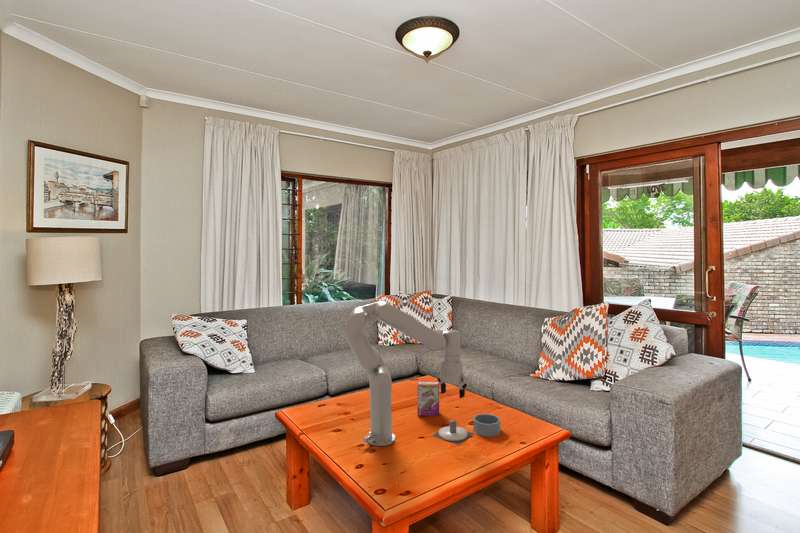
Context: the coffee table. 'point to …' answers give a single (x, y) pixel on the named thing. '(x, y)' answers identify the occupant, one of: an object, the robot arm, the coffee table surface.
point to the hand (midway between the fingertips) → (452, 395)
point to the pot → (486, 425)
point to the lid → (453, 432)
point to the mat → (453, 441)
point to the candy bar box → (428, 398)
